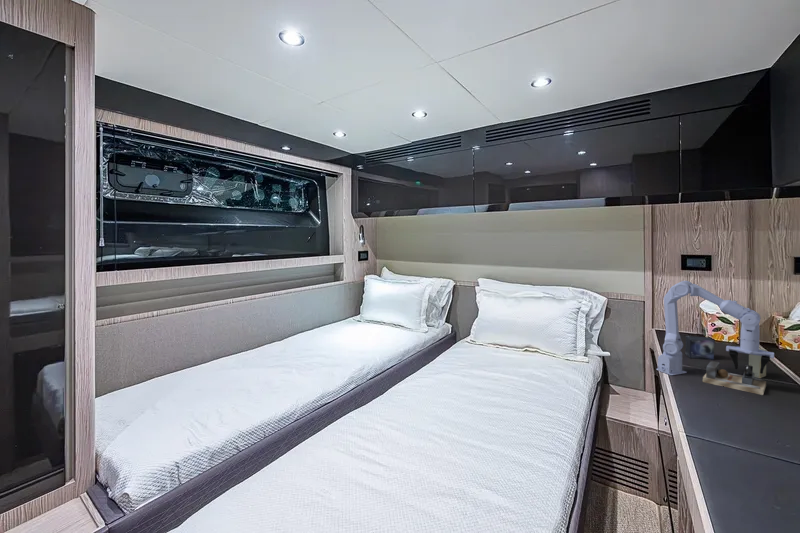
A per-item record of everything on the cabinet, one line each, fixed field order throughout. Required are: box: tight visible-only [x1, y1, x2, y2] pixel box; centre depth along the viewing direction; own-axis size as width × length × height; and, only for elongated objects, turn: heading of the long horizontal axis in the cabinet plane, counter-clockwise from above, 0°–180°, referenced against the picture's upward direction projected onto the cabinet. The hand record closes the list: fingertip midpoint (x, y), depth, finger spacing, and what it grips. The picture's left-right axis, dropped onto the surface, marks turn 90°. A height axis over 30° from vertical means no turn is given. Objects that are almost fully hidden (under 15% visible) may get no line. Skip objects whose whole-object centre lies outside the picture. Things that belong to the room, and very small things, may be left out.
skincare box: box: [748, 348, 768, 379], centre depth 163 cm, size 6×4×12 cm
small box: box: [684, 335, 716, 361], centre depth 189 cm, size 11×6×10 cm, turn 69°
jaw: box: [742, 364, 756, 385], centre depth 152 cm, size 3×9×7 cm, turn 130°
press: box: [702, 360, 767, 396], centre depth 156 cm, size 19×12×7 cm, turn 40°
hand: (748, 370), depth 152 cm, fingers open, 7 cm apart
